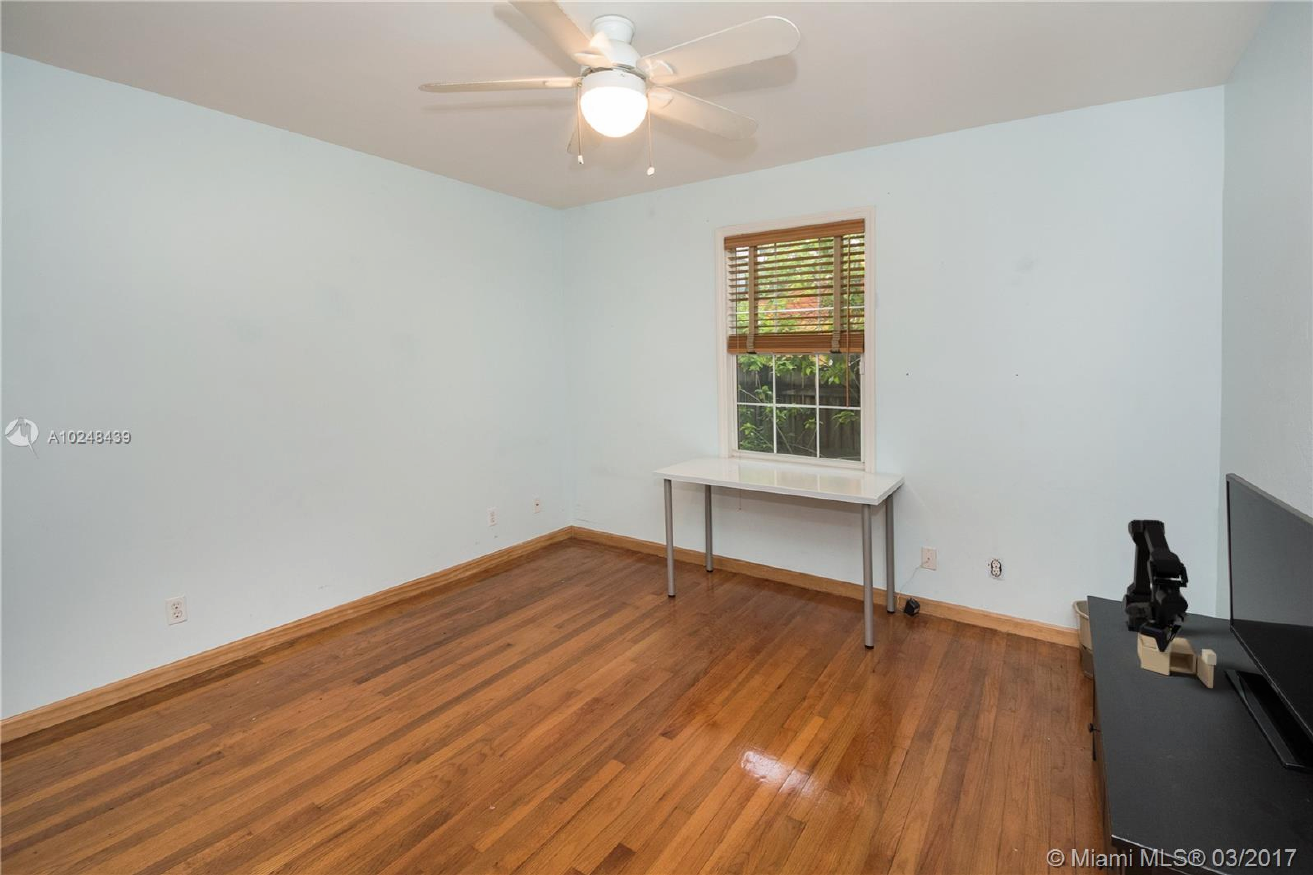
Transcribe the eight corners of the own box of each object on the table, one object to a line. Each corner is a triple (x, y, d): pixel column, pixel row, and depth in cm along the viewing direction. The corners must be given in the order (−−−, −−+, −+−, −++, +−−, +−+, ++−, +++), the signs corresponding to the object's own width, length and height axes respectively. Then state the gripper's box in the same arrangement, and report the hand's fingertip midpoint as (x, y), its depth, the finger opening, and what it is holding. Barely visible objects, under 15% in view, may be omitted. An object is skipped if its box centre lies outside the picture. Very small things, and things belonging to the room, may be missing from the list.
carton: (1137, 652, 187) (1137, 632, 187) (1187, 659, 181) (1188, 639, 180) (1142, 666, 180) (1143, 645, 179) (1195, 674, 174) (1196, 653, 173)
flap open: (1206, 687, 167) (1207, 654, 165) (1194, 675, 173) (1196, 643, 171) (1215, 688, 166) (1216, 654, 165) (1203, 676, 172) (1204, 643, 171)
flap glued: (1142, 665, 180) (1143, 634, 178) (1170, 673, 175) (1171, 641, 173) (1140, 668, 179) (1141, 636, 177) (1168, 676, 174) (1169, 644, 172)
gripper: (1141, 582, 184) (1141, 630, 186) (1118, 601, 174) (1117, 651, 176) (1188, 592, 175) (1187, 642, 177) (1167, 613, 164) (1165, 666, 167)
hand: (1163, 650), depth 174 cm, fingers closed on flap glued, 2 cm apart
